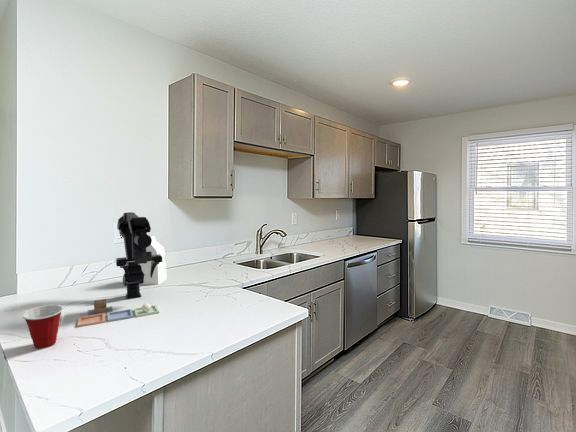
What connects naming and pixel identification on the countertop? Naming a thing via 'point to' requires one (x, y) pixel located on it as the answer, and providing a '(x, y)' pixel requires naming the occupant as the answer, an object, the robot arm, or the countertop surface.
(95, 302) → the letter cube
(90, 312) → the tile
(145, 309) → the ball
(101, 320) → the dish terracotta
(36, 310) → the plastic cup
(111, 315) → the dish slate
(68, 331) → the countertop surface
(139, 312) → the dish sage
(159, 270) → the milk
